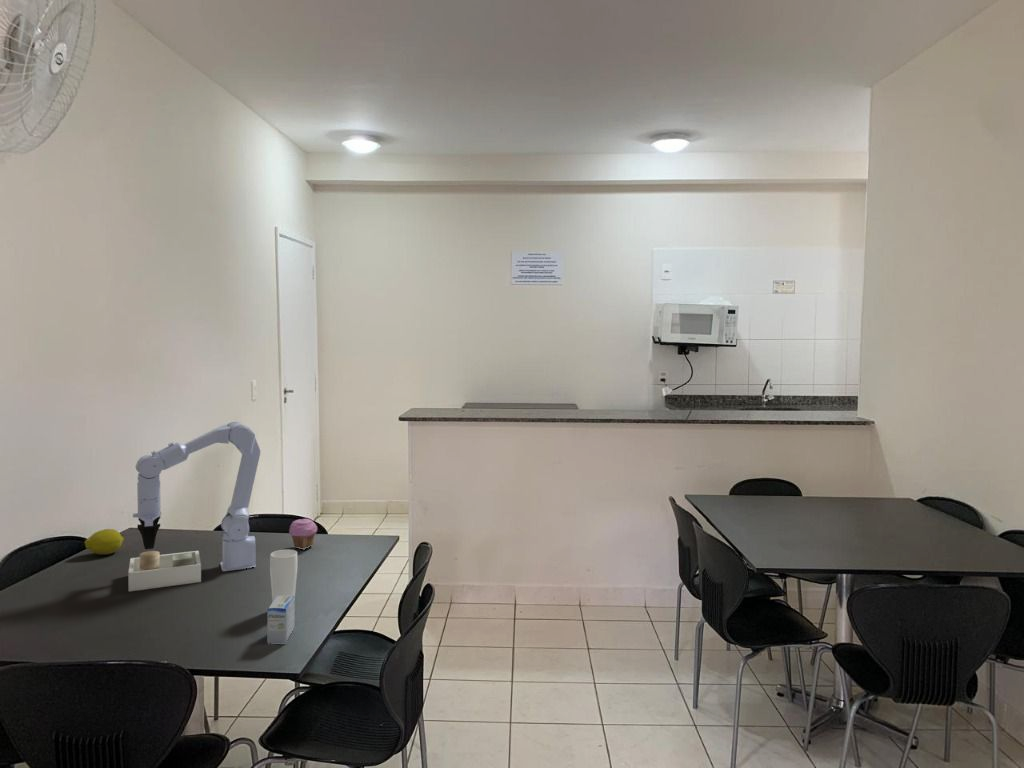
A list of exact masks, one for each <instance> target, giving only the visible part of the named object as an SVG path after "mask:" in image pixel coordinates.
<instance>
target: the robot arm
mask: <svg viewBox="0 0 1024 768" xmlns="http://www.w3.org/2000/svg"><path fill="white" fill-rule="evenodd" d="M217 443H218V444H229V443H231V444H232V445H234V446H235V447H236V448H237V450H238V451H239V452H240V454H241V458H240V463H239V467H238V472H237V476H236V481H235V484H234V488H233V489H234V490H233V494H232V498H231V503H230V505H229V507H228V508H227V511H226V514H225V516H224V517H223V518H222V520H221V523H220V527H221V529H222V531H223V532H224V534H223V536H222V543H221V544H222V561H221V562H220V563H219V565H220V568H221V571H222V572H229V571H237V570H245V569H246V568H247V569H253V568H252V567H254V568H256V567H257V566H256V565H257V564H256V562H257V561H256V559H257V553H256V550H257V549H256V537H255V535H249V532H250V525H249V519H250V513H249V506H250V501H251V496H252V492H253V487H254V483H255V480H256V473H257V470H258V466H259V461H260V456H261V449H260V446H259V444H258V440H257V438H256V433H254V431H253V430H252V429H251V428H250V427H249V426H247V425H245V424H243V423H240V422H237V421H231V422H228V423H227V424H223V425H220V426H218V427H216V428H213V429H212V430H210V431H208V432H206V433H204V434H202V435H199V436H198V437H196V438H193V439H192V440H190V441H188V442H186V443H181V442H175V443H174V442H169V443H168V446H166V447H164V448H162V449H160V450H158V451H155V450H153V451H151V454H149V455H148V454H147V455H143V456H141V457H139V459H138V460H137V462H136V464H135V469H136V471H137V472H138V476H137V482H136V483H137V513H133V514H132V518H138V521H139V522H140V524H137V527H136V528H137V530H138V531H139V532H140V535H141V537H142V543H143V548H144V550H152V549H154V548H155V543H156V538H157V534H158V531H159V529H160V527H161V523H159V521H160V519H161V516H162V511H161V480H160V474H161V472H162V471H165V470H169V469H170V468H173V467H175V466H176V465H178V464H180V463H183V462H186V461H187V459H188V457H189V455H191V454H192V453H195V452H197V451H200V450H202V449H205V448H207V447H210V446H211V445H214V444H217Z"/></svg>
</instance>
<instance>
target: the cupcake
mask: <svg viewBox="0 0 1024 768" xmlns="http://www.w3.org/2000/svg"><path fill="white" fill-rule="evenodd" d="M288 530H289V531H288V533H289V535H290V536H291V538H292V542H293V546H294V548H295V547H300V548H305V547H308V546H310V545H313V546H314V539H315V535H316V534H317V532H318V526H317V524H316V523H315V522H314V521H312V519H309V518H302V519H300V518H299V519H296V520H293V521H292V522H291V524H290V526H289V529H288Z"/></svg>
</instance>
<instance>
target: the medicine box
mask: <svg viewBox="0 0 1024 768" xmlns="http://www.w3.org/2000/svg"><path fill="white" fill-rule="evenodd" d="M295 604H296V595H295V596H277V597H276V598H275V599H274V601H273V600H272V603H271V604H270V605H269V607H268V608H267V622H266V623H267V625H266V626H267V628H266V630H267V632H266V633H267V635H266V638H267V639H266V643H286V642H287V643H288V641H289V640H288V638H289V636H290V634H291V633H292V634H293V632H294V630H295V625H296V624H295V615H296V614H295V613H296V612H295V611H296V605H295ZM293 629H294V630H293ZM292 631H293V632H292ZM292 634H291V635H292ZM290 637H291V636H290ZM289 639H290V638H289ZM287 640H288V641H287ZM287 643H286V644H287Z"/></svg>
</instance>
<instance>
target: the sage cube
mask: <svg viewBox="0 0 1024 768" xmlns="http://www.w3.org/2000/svg"><path fill="white" fill-rule="evenodd" d="M186 565H192V553H189V554H181V555H173V567H178V566H186Z"/></svg>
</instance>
